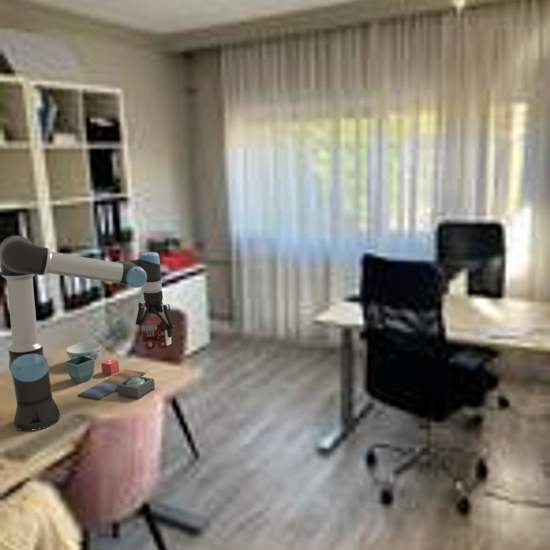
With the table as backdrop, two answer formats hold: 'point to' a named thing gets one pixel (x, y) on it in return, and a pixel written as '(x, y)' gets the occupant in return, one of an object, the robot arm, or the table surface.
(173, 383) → the table surface
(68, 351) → the chinaware
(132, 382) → the dome cap
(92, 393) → the board
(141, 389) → the dome housing
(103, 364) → the die
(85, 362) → the flower pot
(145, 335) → the toy fire truck
